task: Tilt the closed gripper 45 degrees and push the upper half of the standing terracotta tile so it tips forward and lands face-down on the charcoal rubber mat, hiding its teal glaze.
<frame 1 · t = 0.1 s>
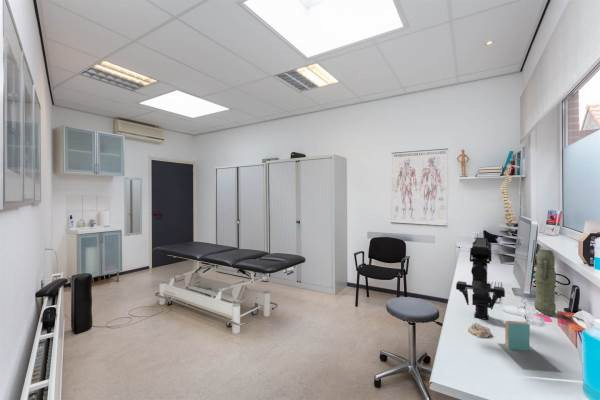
hand: (479, 307, 132), 15 cm above the table, tool pointing down, fingers open, 9 cm apart
rock: (479, 335, 137), on the table
tile: (517, 348, 123), point 1 cm above the table, touching mat
mat: (526, 358, 117), on the table
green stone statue: (544, 313, 160), on the table
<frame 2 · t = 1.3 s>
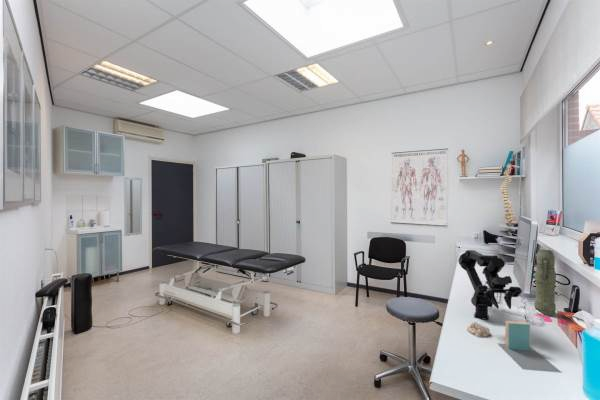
hand: (504, 308, 133), 14 cm above the table, tool tilted 45°, fingers open, 5 cm apart
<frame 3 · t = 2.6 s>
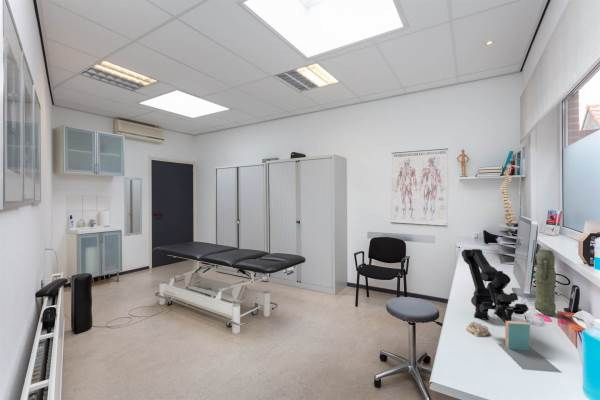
hand: (510, 326, 129), 7 cm above the table, tool tilted 45°, fingers closed
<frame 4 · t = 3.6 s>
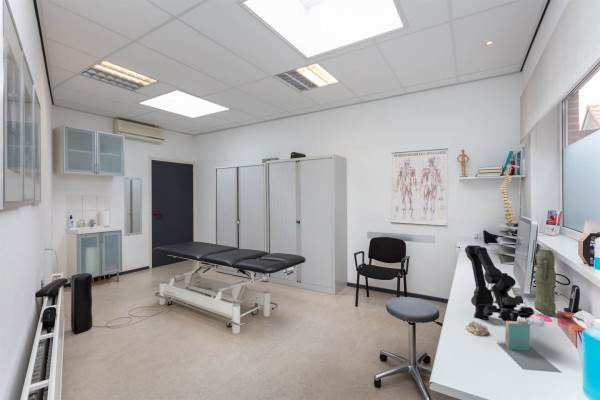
hand: (515, 330, 125), 7 cm above the table, tool tilted 45°, fingers closed, pressing on tile
tile: (517, 348, 123), point 1 cm above the table, touching gripper, mat
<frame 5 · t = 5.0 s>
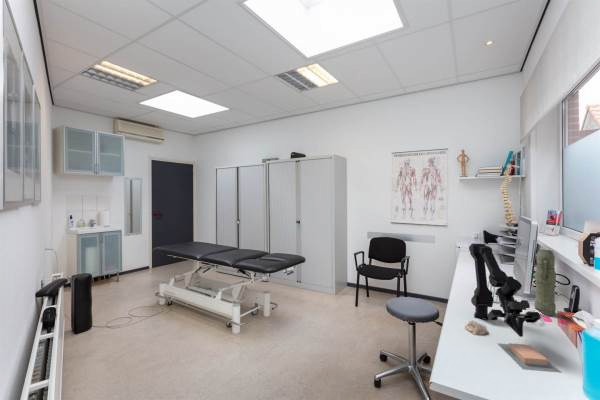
hand: (521, 336, 120), 7 cm above the table, tool tilted 45°, fingers closed
tile: (519, 346, 122), point 2 cm above the table, tilted 90°, touching mat
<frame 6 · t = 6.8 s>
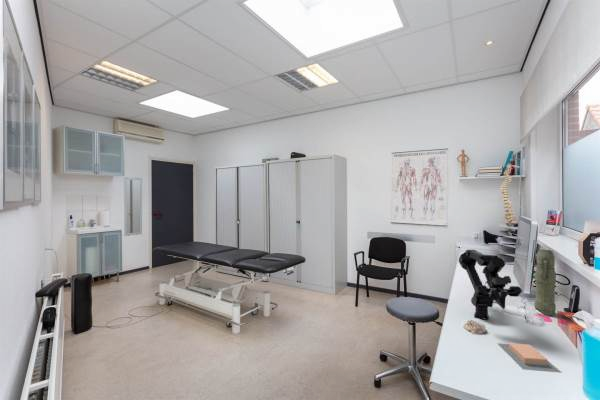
hand: (503, 308, 134), 13 cm above the table, tool tilted 45°, fingers closed
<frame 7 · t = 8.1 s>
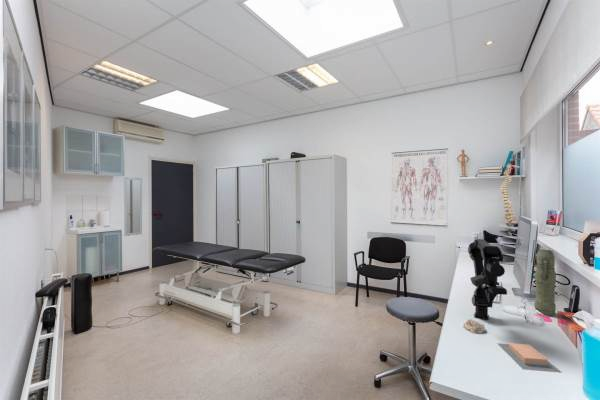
hand: (490, 302, 142), 13 cm above the table, tool pointing down, fingers closed
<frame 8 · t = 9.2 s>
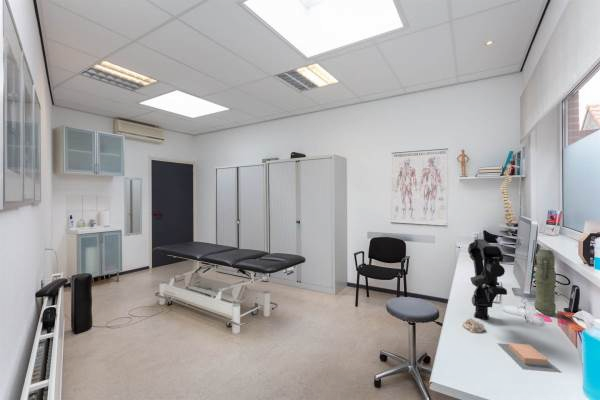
hand: (490, 302, 142), 13 cm above the table, tool pointing down, fingers closed
at the end: tile tilted 90°; tile 1.3 cm from the target spot, point 1.8 cm above the table; tile touching mat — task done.
